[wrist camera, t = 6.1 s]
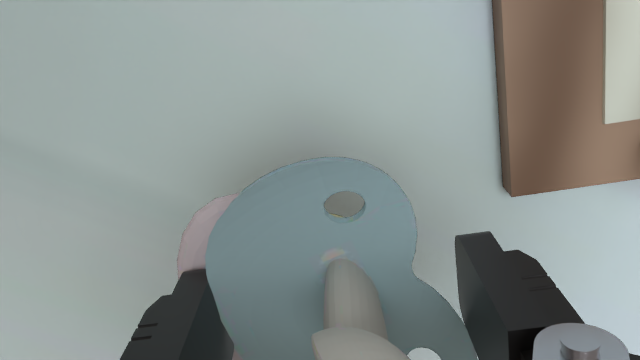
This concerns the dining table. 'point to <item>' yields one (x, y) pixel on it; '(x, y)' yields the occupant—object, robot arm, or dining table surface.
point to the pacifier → (320, 269)
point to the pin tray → (567, 92)
